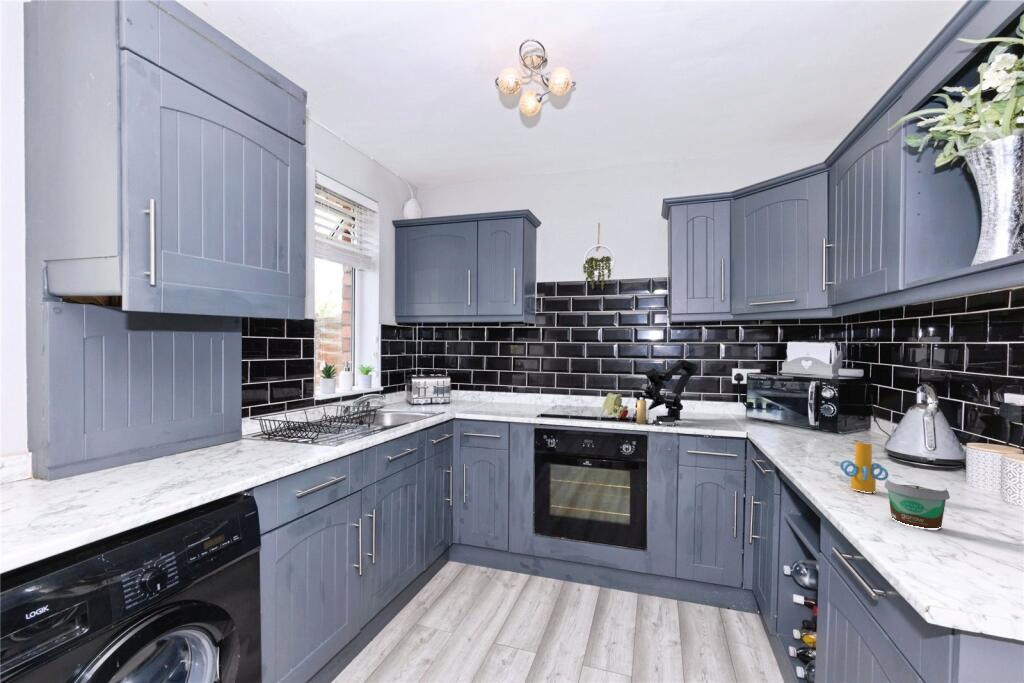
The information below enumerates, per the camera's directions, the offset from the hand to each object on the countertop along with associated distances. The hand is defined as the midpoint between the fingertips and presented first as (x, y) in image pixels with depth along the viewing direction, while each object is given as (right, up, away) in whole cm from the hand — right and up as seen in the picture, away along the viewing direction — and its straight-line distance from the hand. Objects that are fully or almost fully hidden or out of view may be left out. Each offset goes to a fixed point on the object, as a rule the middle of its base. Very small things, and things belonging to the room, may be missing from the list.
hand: (642, 408), depth 248 cm
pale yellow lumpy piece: (-9, -9, +16) cm, 21 cm away
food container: (+28, -8, -139) cm, 142 cm away
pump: (-1, -8, 0) cm, 8 cm away
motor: (+12, -9, -2) cm, 15 cm away
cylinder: (+35, -9, -112) cm, 118 cm away
